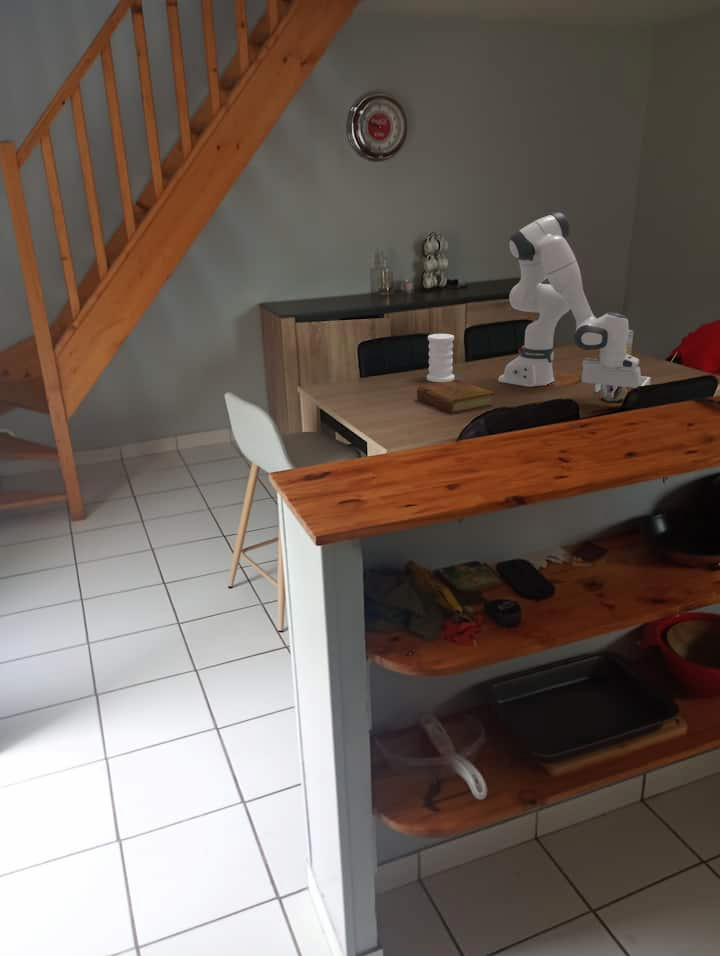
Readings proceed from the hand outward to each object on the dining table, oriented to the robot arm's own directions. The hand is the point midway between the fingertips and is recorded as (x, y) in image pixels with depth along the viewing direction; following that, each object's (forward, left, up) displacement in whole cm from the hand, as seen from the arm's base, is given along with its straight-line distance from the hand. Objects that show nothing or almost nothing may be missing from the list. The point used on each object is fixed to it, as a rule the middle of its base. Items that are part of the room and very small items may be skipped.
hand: (608, 396), depth 269 cm
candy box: (-11, +67, -3) cm, 68 cm away
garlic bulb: (0, +8, -3) cm, 9 cm away
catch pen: (0, +22, -3) cm, 22 cm away
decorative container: (-72, +11, -3) cm, 73 cm away
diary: (-52, -20, -4) cm, 56 cm away
